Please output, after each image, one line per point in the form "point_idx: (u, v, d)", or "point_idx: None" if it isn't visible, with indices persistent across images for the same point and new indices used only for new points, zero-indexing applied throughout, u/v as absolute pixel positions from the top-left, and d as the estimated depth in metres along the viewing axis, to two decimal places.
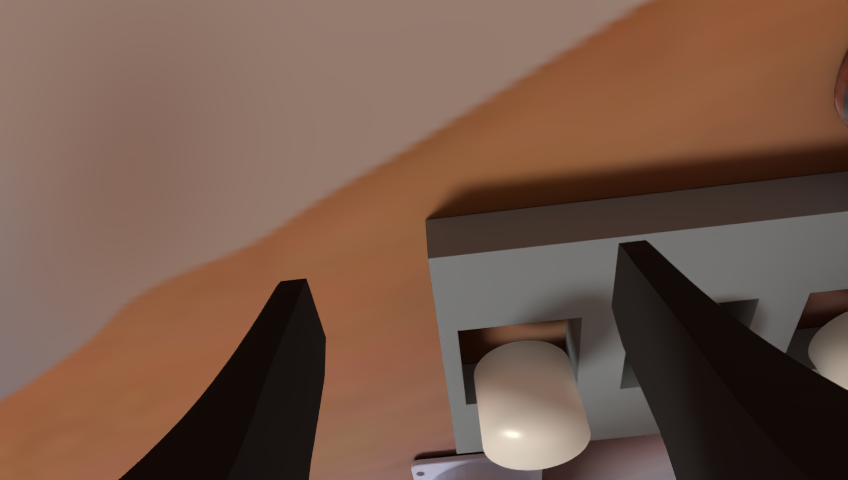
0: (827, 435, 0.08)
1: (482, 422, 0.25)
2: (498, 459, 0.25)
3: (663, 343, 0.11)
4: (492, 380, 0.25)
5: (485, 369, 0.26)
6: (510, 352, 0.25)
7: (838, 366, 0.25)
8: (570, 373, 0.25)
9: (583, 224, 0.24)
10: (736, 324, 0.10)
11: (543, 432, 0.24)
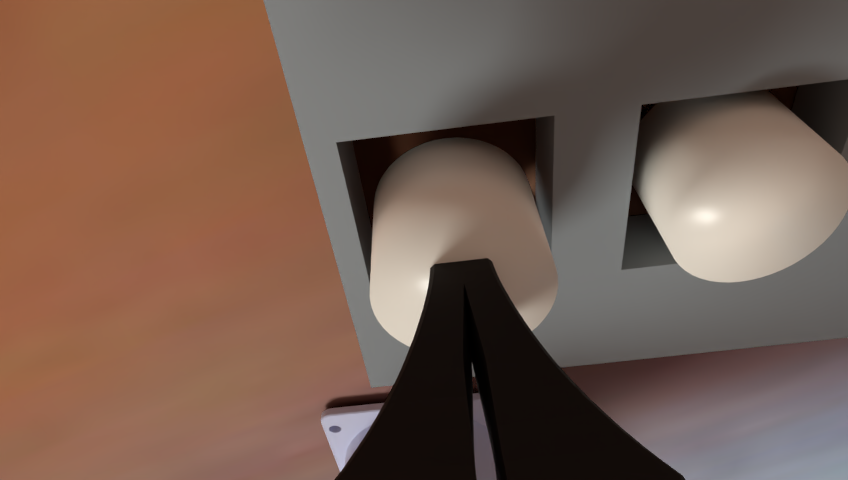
0: (559, 461, 0.08)
1: (371, 264, 0.14)
2: (403, 331, 0.15)
3: (480, 362, 0.12)
4: (390, 196, 0.15)
5: (384, 187, 0.15)
6: (424, 153, 0.15)
7: None
8: (526, 188, 0.15)
9: None
10: (533, 345, 0.10)
11: None
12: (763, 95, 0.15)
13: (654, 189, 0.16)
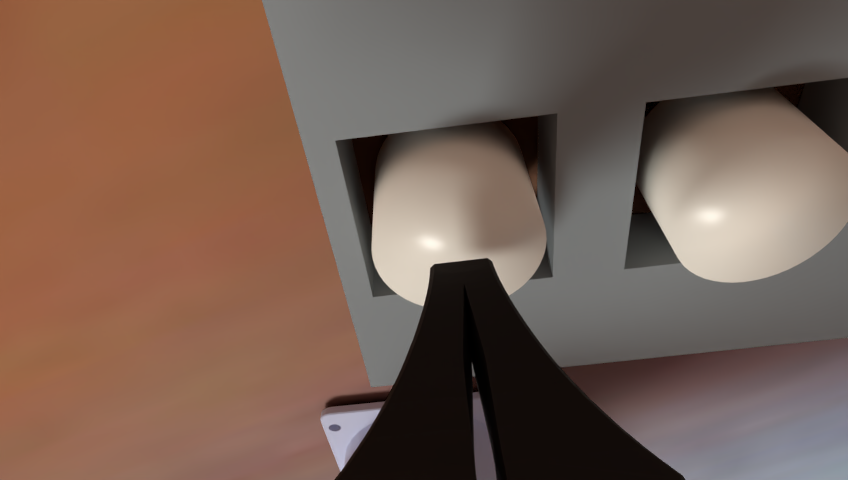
0: (559, 461, 0.08)
1: (373, 221, 0.15)
2: (402, 286, 0.16)
3: (480, 362, 0.12)
4: (390, 159, 0.16)
5: (385, 152, 0.16)
6: None
7: None
8: (517, 153, 0.16)
9: None
10: (533, 345, 0.10)
11: (468, 229, 0.15)
12: (769, 92, 0.15)
13: (658, 188, 0.15)
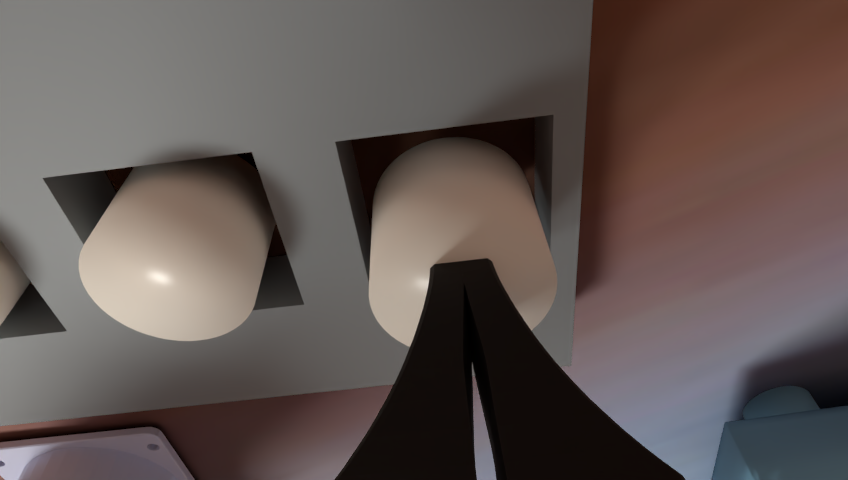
0: (559, 462, 0.08)
1: None
2: None
3: (481, 362, 0.12)
4: None
5: None
6: None
7: (371, 240, 0.15)
8: None
9: None
10: (533, 346, 0.10)
11: None
12: (194, 164, 0.16)
13: None
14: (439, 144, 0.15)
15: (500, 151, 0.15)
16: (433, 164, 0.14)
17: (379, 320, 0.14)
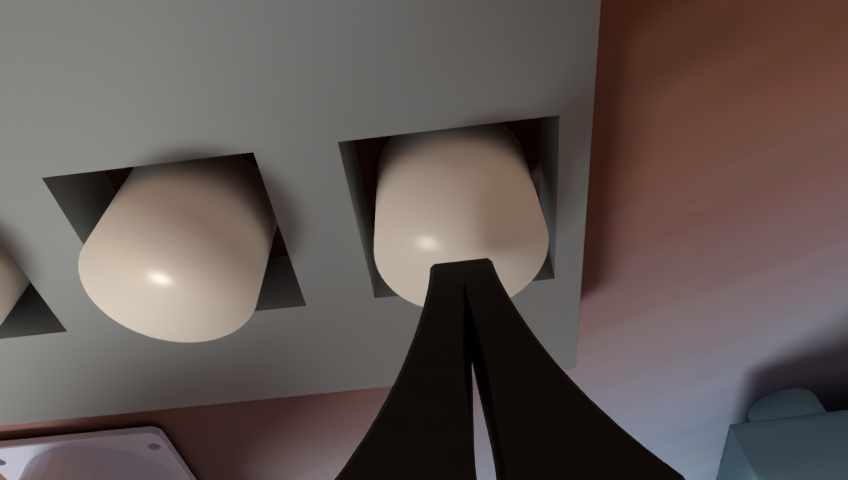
0: (559, 461, 0.08)
1: None
2: None
3: (480, 362, 0.12)
4: None
5: None
6: None
7: None
8: None
9: None
10: (533, 345, 0.10)
11: None
12: (195, 164, 0.16)
13: None
14: None
15: None
16: (434, 131, 0.15)
17: (383, 275, 0.15)
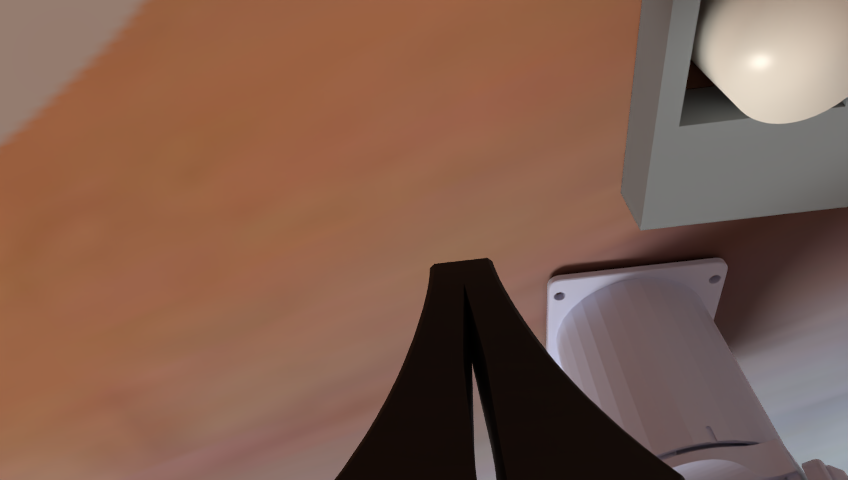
0: (558, 461, 0.08)
1: (727, 32, 0.17)
2: (743, 95, 0.18)
3: (480, 362, 0.12)
4: None
5: None
6: None
7: None
8: None
9: None
10: (533, 345, 0.10)
11: (824, 31, 0.16)
12: None
13: None
14: None
15: None
16: None
17: None
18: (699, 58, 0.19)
